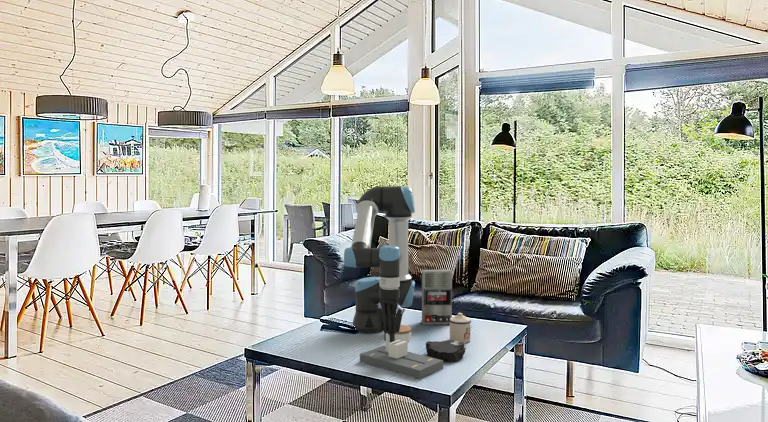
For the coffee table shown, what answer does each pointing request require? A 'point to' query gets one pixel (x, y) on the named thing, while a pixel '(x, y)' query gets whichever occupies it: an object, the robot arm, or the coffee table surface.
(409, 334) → the lidded jar
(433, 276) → the cassette tape recorder
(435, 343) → the rock sample
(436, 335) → the coffee table surface
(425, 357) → the fader console
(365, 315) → the robot arm
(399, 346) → the fader knob
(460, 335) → the teacup with lid
